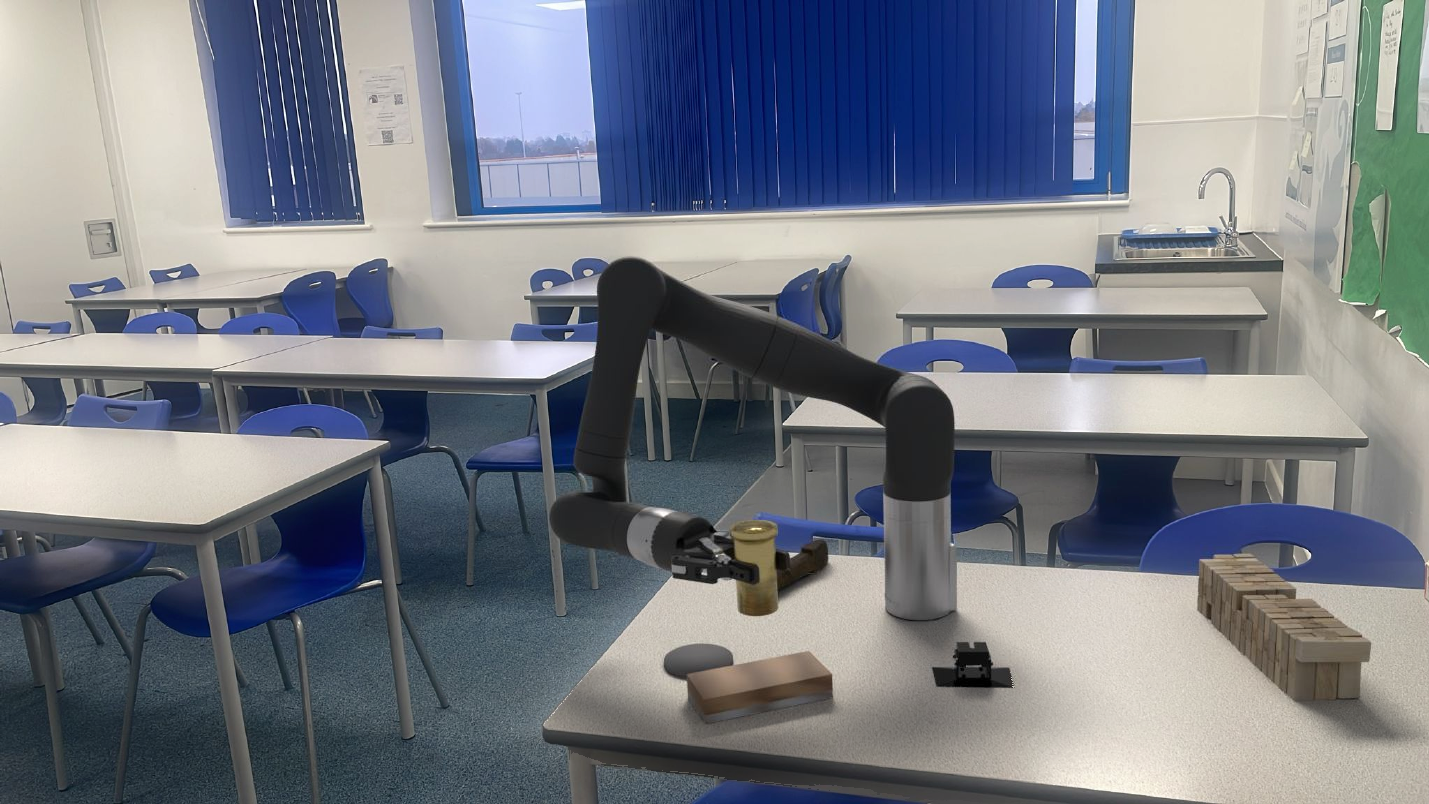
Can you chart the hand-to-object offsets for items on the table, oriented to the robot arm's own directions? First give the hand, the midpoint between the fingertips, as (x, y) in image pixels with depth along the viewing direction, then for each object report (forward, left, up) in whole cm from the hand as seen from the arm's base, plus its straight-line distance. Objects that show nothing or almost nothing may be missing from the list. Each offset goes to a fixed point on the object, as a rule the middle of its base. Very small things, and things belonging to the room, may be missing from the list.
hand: (772, 568), depth 123 cm
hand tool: (-16, -37, -17) cm, 44 cm away
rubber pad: (+5, -14, -17) cm, 23 cm away
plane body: (+1, -2, -17) cm, 17 cm away
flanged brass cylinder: (+1, -2, -6) cm, 6 cm away
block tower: (-62, +11, -18) cm, 65 cm away
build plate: (-24, +3, -18) cm, 30 cm away
